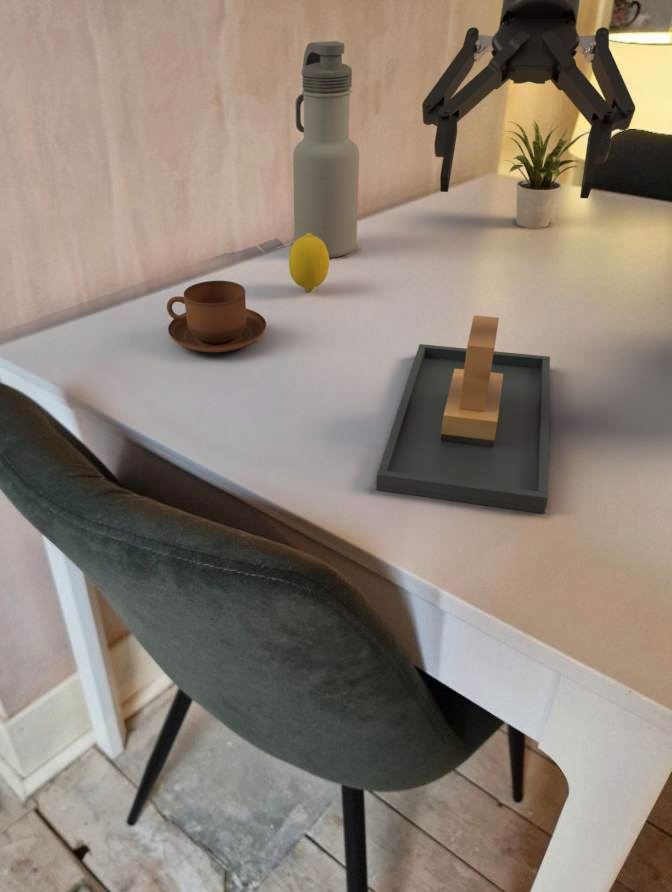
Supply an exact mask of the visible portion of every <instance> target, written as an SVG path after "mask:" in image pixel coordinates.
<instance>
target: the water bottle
mask: <svg viewBox="0 0 672 892" xmlns="http://www.w3.org/2000/svg"><path fill="white" fill-rule="evenodd" d="M344 54H345V43H344V42H339V41H337V40H336V41H335V40H331V41H329V40H328V41H315V42H313V41H312V42H309V43H308V44H307V45H306V47H305V50H304V54H303V60H302V69H301V77H302V78H301V80H302V84H301V85H302V86H301V87H302V89H301V94H299V95H298V96H297V97H296V99H295V127H296V129H297V131H299V132H300V133H303V138H302V140H300V142H298V143H297V144H296V146H295V147H294V149H293V152H292V168H293V169H292V171H293V174H292V175H293V178H292V179H293V229H294V233H293V234H294V236H293V237H294V243H295V242H296V240H298V239H299V238H300V237H302V236H305V235H306V234H307V233H311V234H312V235H313V236H316V237H318V238H319V239H320V240H322V241H323V243H324V244H325V246H326V248H327V251H328V256H329V259H333V258H334V259H335V258H339V257H344V256H346V255H348V254H350V253H352V252H353V251H354V250H355V248H356V246H357V239H358V238H357V237H358V208H359V207H358V206H359V204H358V203H359V180H360V179H359V176H360V175H359V174H360V150H359V148H358V146H357V144H356V143H355V142H354V141H353V140H352V139H351V138H350V137H349V136H350V99H351V98H350V96H351V95H350V94H351V93H352V89H351V88H352V86H353V81H352V80H353V78H352V77H353V75H352V74H353V69H352V67H351V66H349V65H348V64H346V63H343V55H344ZM302 103H303V124H302V119H301V116H302V115H301V113H302V112H301V107H302Z"/></svg>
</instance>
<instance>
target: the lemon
mask: <svg viewBox="0 0 672 892" xmlns="http://www.w3.org/2000/svg"><path fill="white" fill-rule="evenodd" d="M288 270H289V275H290V277H291V279H292V280H293V282H294V283H295V284H296V285H297V286H299V287H301V288H303V289H304V290H305V291H306V292H312V291H313V290H314V288H317V287H319V286H320V285H321V284H322V283H324V282H325V280H326V278H327V276H328V273H329V270H330V258H329V256H328V251H327V248H326V246H325V244H324V243H323V241H322V240H320V239H319V238H318V237H316V236H313V235H312V234H311V233H307V234H306V235H305V236H302V237H300V238H299V239H298V240H296V242H295V241H294V243H293V244H292V246H291V248H290V252H289V257H288Z"/></svg>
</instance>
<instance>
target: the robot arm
mask: <svg viewBox="0 0 672 892" xmlns="http://www.w3.org/2000/svg"><path fill="white" fill-rule="evenodd" d="M580 2H581V0H502V6H501V12H500V19H499V26H498V28H497V29H498V30H497V31H496V32H495V33H494V35H485V34H484V35H483V34H479V33H480V32H479V29H478V28H477V27H474V26H472V27H469V28H468V29H467V31H466V33H465V34H466V35H465V37H464V41H463V44H462V47H461V48H460V50H459V51H458V52H457V54H456V56H454V58H453V59H452V61H451V62H450V64H449V65H448V66H447V68H446V69H445V71H444V72H443V74H442V75H441V76H440V78H439V79H438V80H437V81H436V83H435V85H433V87H432V89H431V90H430V92H429V93H428V94H427V96H426V97H425V98H424V100H423V101H422V103H421V109H422V111H421V112H422V123H423V124H424V125H426V126H430V125H434V126H435V127H436V132H435V138H434V145H433V146H434V149H433V150H434V156H435V157H436V158H442V162H441V169H440V176H439V183H440V184H439V185H440V186H439V188H440V193H449V187H450V181H451V175H452V170H453V162H454V156H455V155H454V154H455V149H456V145H457V144H456V143H457V136H458V122H460V120H462V119H463V118H465V116H466V115H467V114H468V113H470V112H471V111H472V110H473V109H474V108H475V107H476V106H477V105H479V104H480V103H481V102H482V100H484V99H485V98H487V96H489V95H490V94H491V93H493V91H494V90H499V89H500V88H501V87H502V86H503V85H504V84H506V83H507V82H508V81H509V80H510V81H512V82H513V83H512V84H515V85H516V84H519V85H521V84H526V83H532V84H536V85H545V84H546V82H548V81H551V83H552V84H553V85H554V86H555V87H556V89H557V90H558V91H562V92H563V93H564V94H565V96H566V97H567V98H568V99H569V100H570V102H571V103H572V104H573V105H574V107H576V109H577V111H578V112H579V113H580V114H581V115H582V117H584V119H585V120H586V122H587V123H588V124H589V125H590V129H589V132H590V133H588V138H587V143H586V151H585V158H584V165H583V174H582V180H581V188H580V195H579V198H580V199H589V196H590V194H591V190H592V188H593V184H594V179H595V172H596V164H605V162H606V161H607V159H608V156H609V153H610V149H611V141H612V136H613V135H612V134H613V132H614V131H617V130H620V131H627V130H628V129H629V128H630V126H631V123H632V120H633V117H634V114H635V112H636V109H637V108H636V104H635V102H634V100H633V98H632V96H631V94H630V92H629V89H628V87H627V84H626V83H625V80H624V78H623V75H622V74H621V71H620V68H619V66H618V64H617V63H616V60H615V58H614V56H613V53H612V51H611V48H610V31H609V29H608V28H607V27H604V26H602V27H599V28H598V29H597V30H596V32H595V34H593V35H582V36H580V35H579V33H578V31H577V30H578V29H577V24H578V16H579V8H580ZM488 52H491V56H492V58H491V59H490V60H489V62H488V64H487V65H486V66H485V67H484V68H483V69H481V71H480V72H478V73H477V74H476V75H475V76H474V77H472V79H470V81H468V82H467V83H466V84H465V85H464V86H463V87H462V88H460V86H461V85H462V84H463V82H464V80H465V79H466V78H467V77H468V75H469V74H470V72H471V70H472V69H473V67H474V64H475V63H478V62H480V61H481V59H482V58H483V57H484V55H485V54H486V53H488ZM577 53H581V54H582V55H583V57H584V59H585V61H586V63H587V64H591V70H592V73H593V76H594V77H595V80H596V83H597V85H598V88H599V90H600V92H601V94H602V95H601V94H600V92H599V91H598V90H597V89H596V88H595V87H594V85H593V84H592V83H591V82H590V80H589V79H588V78H587V77H586V76H585V74H584V73H583V72H582V70H580V68H579V67H578V65H577V62H576V61H577V60H576V59H575V56H576V55H577ZM459 88H460V90H459V91H457V90H458V89H459Z"/></svg>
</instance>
